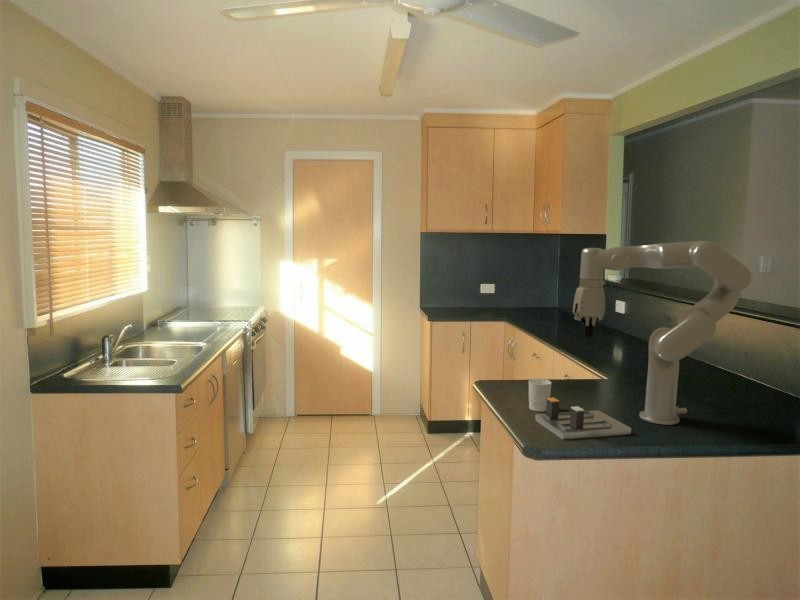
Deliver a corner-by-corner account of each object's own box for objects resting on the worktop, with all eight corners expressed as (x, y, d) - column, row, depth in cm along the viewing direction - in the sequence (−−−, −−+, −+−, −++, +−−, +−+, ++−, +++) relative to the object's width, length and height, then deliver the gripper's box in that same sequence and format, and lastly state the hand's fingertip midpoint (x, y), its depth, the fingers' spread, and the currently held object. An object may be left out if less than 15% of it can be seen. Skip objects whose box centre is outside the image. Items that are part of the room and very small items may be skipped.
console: (598, 415, 203) (598, 407, 203) (630, 434, 186) (631, 425, 185) (535, 420, 197) (535, 411, 197) (562, 439, 180) (563, 430, 179)
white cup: (546, 405, 213) (547, 378, 212) (552, 412, 206) (554, 384, 204) (524, 405, 213) (526, 378, 212) (530, 412, 205) (531, 384, 204)
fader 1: (552, 415, 196) (553, 397, 195) (558, 418, 193) (559, 400, 192) (546, 415, 195) (547, 398, 195) (551, 418, 192) (552, 401, 191)
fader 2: (576, 424, 187) (578, 406, 186) (583, 428, 184) (584, 409, 183) (569, 425, 187) (571, 406, 186) (575, 428, 183) (577, 410, 182)
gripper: (603, 282, 207) (600, 334, 209) (565, 283, 203) (562, 335, 205) (616, 285, 199) (613, 338, 202) (577, 285, 196) (574, 339, 198)
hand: (587, 336), depth 203 cm, fingers closed
